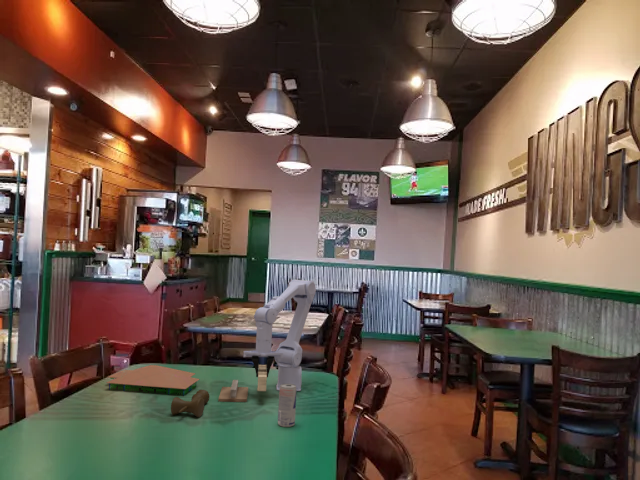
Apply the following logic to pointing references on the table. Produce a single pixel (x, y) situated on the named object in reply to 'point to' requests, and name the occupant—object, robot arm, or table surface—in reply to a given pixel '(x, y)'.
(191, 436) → the table surface
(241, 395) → the ridge stand
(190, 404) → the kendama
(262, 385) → the maple bar
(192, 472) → the table surface
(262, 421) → the table surface
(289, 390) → the energy drink
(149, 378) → the brown flat slab
